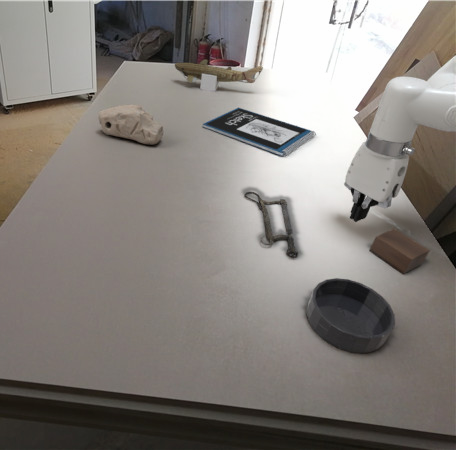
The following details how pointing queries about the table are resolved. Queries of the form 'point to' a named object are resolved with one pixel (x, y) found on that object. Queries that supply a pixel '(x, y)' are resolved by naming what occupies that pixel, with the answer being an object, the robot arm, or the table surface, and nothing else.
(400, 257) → the block
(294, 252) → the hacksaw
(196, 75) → the wood carving
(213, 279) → the table surface
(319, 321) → the pan
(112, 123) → the decorative stone
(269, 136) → the sketchbook
